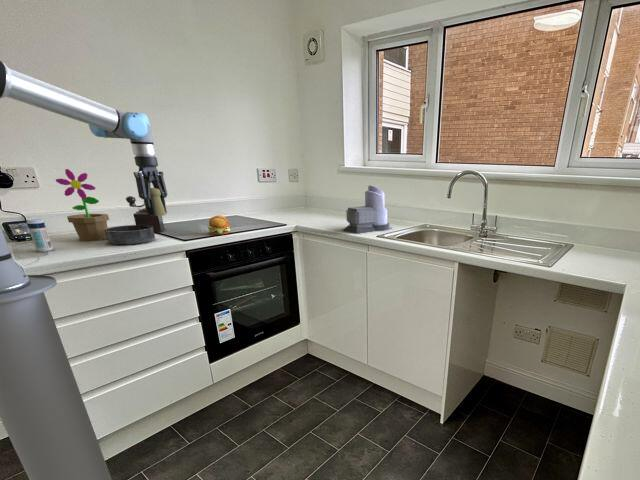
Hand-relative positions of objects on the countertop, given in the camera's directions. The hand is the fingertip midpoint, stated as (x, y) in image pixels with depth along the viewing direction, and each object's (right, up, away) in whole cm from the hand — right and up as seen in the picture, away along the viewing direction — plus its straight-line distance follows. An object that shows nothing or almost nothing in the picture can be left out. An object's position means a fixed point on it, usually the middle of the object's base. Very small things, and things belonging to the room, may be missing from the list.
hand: (158, 214), depth 150 cm
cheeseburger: (+12, -3, +30) cm, 32 cm away
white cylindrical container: (-36, -18, -12) cm, 42 cm away
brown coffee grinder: (-24, -2, +28) cm, 37 cm away
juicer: (+86, +5, +55) cm, 102 cm away
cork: (0, -1, 0) cm, 1 cm away
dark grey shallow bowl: (-16, -11, +7) cm, 21 cm away
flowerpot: (-36, -9, +10) cm, 38 cm away
